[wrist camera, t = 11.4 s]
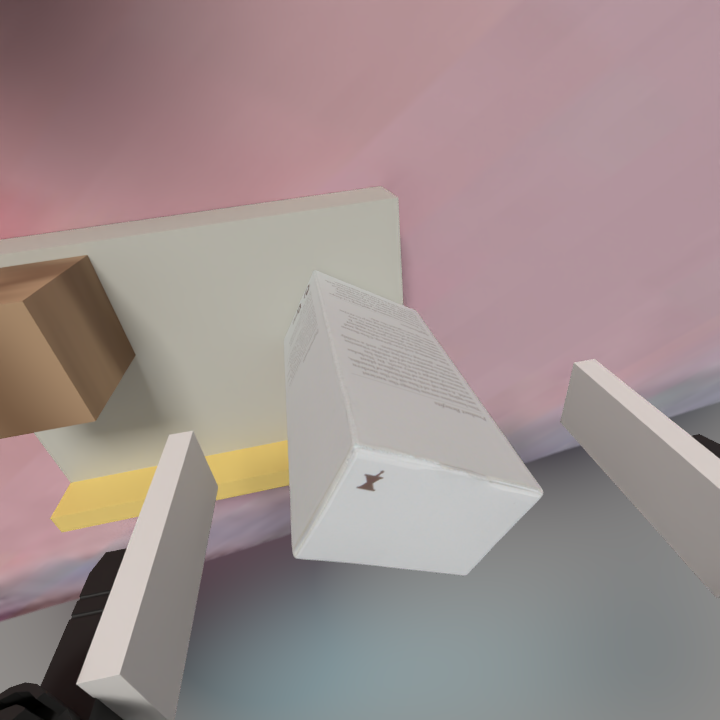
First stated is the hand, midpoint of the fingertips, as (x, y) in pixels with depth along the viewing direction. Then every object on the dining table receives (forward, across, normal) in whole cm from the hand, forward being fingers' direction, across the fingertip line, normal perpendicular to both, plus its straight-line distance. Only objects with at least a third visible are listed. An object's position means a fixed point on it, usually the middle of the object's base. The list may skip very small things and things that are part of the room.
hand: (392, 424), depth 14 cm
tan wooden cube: (+8, +14, -3) cm, 16 cm away
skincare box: (+8, 0, 0) cm, 8 cm away
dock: (+11, +8, +1) cm, 14 cm away
